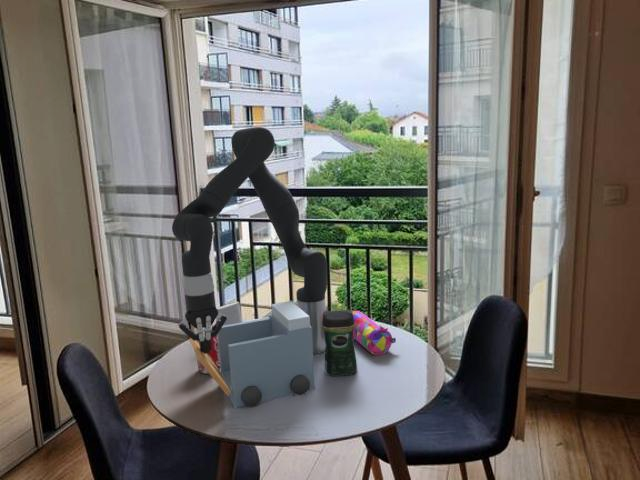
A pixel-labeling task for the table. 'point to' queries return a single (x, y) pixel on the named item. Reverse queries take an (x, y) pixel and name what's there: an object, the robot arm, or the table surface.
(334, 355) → the coffee jar
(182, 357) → the table surface
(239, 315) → the smart speaker
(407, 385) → the table surface
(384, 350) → the pencil case
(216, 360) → the soda can
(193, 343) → the panel
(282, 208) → the robot arm
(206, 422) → the table surface
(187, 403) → the table surface
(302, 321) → the pickup
